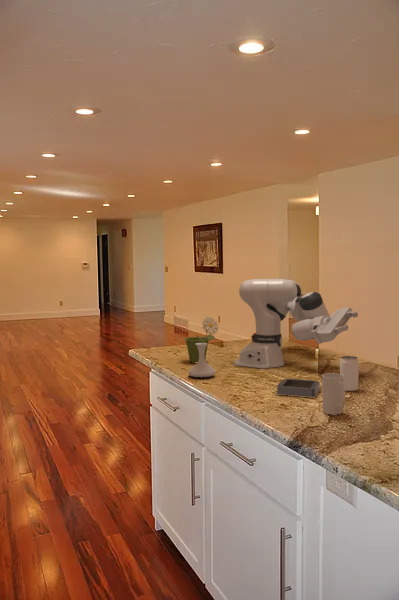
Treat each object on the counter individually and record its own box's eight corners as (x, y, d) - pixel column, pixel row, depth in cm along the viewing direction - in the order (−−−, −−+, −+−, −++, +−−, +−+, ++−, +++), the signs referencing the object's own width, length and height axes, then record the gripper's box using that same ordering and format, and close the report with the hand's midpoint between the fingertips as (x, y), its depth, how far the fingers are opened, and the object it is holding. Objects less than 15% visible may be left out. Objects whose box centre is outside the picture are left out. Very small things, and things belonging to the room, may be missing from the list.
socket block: (275, 395, 194) (275, 386, 194) (283, 385, 207) (283, 378, 207) (314, 398, 189) (314, 389, 189) (321, 388, 202) (321, 380, 202)
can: (359, 391, 197) (359, 359, 196) (340, 391, 198) (340, 358, 197) (357, 387, 203) (357, 355, 202) (339, 386, 204) (339, 355, 203)
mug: (318, 410, 175) (318, 373, 174) (336, 408, 177) (336, 372, 176) (333, 419, 166) (333, 381, 165) (353, 417, 167) (353, 379, 166)
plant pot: (214, 363, 251) (213, 339, 250) (190, 365, 247) (189, 341, 246) (204, 358, 262) (204, 335, 261) (181, 361, 258) (181, 337, 257)
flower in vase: (192, 380, 218) (191, 319, 216) (185, 374, 229) (184, 316, 227) (223, 378, 222) (222, 317, 220) (214, 372, 233) (214, 314, 231)
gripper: (338, 318, 232) (366, 313, 221) (316, 346, 219) (345, 341, 209) (331, 306, 231) (359, 300, 220) (309, 333, 218) (337, 328, 207)
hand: (352, 320), depth 214 cm, fingers open, 8 cm apart
